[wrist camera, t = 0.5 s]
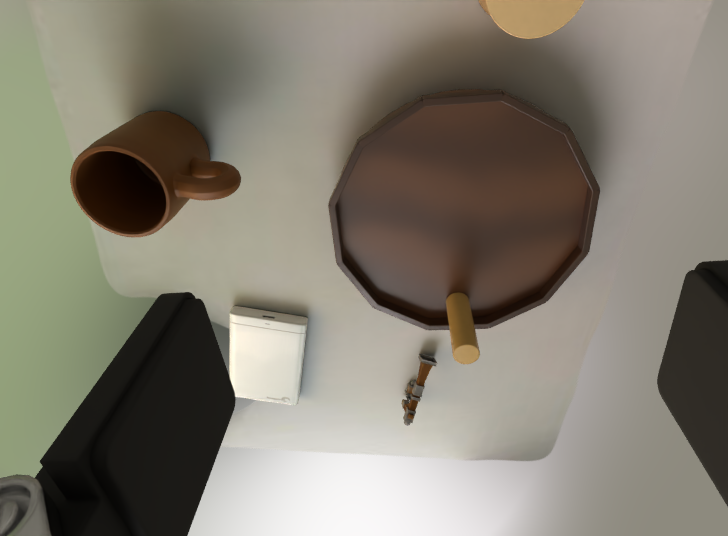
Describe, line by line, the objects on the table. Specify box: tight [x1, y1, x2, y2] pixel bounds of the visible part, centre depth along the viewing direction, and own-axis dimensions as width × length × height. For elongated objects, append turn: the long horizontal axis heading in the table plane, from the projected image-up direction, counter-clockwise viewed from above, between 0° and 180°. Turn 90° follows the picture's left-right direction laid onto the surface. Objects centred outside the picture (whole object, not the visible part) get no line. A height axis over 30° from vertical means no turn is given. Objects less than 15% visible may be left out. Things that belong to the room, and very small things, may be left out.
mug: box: [71, 111, 241, 237], centre depth 40 cm, size 12×8×9 cm, turn 91°
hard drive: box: [230, 306, 308, 405], centre depth 55 cm, size 2×8×12 cm
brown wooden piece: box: [402, 354, 437, 426], centre depth 56 cm, size 2×8×4 cm, turn 163°
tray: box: [328, 89, 600, 364], centre depth 40 cm, size 22×22×8 cm
